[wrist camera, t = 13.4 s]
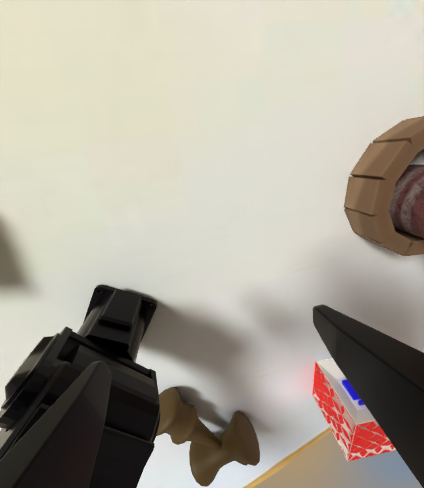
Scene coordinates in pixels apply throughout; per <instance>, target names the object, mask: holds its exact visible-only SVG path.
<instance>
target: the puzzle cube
mask: <svg viewBox="0 0 424 488" xmlns="http://www.w3.org/2000/svg"><path fill="white" fill-rule="evenodd" d="M313 397H314V399H315V400H316V402H317V404H318V406H319V408H320V410H321V412H322V414H323V415H324V417H325V419H326V421H327V423H328V425H329V427H330V429H331V430H332V432H333V434H334V436H335V438H336V440H337V442H338V444H339V445H340V447H341V449H342V451H343V453H344V455H345V457H346V459H347V461H351V460H355V459H359V458H364V457H368V456H372V455H377V454H381V453H385V452H389V451H394V450H396V449H395V447H394V446H393V444H392V443H391V441H390V440H389V439H388V437H387V436H386V434H385V433H384V431H383V430H382V429H381V427H380V426H379V424H378V423H377V421H376V420H375V419H374V417H373V416H372V414H371V413H370V411H369V410H368V409H367V407H366V406H365V404H364V403H363V401H362V400H361V399H360V397H359V396H358V394H357V393H356V391H355V390H354V389H353V387H352V386H351V384H350V383H349V381H348V380H347V379H346V377H345V376H344V374H343V373H342V371H341V370H340V369H339V367H338V366H337V364H336V363H335V361H334V359H333V358H328V359H323V360H318V361H316V362H315V374H314V386H313Z"/></svg>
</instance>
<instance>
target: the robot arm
mask: <svg viewBox="0 0 424 488" xmlns="http://www.w3.org/2000/svg"><path fill="white" fill-rule="evenodd" d="M99 289H101V290H102V291H100V290H99ZM151 305H154V306H151ZM156 307H157V302H156V301H154V300H150V299H147V298H144V297H140V296H137V295H134V294H131V293H127V292H124V291H121V290H117V289H114V288H110V287H107V286H104V285H98V286H96V288H95V289H94V292H93V295H92V298H91V301H90V304H89V307H88V310H87V313H86V317H85V320H84V323H83V325H82V326H81V328H80V330H79V331H78V333H75V332H73V331H72V329H70V328H68V327H65V328H64V329H63V330H62V332H61V333H60V334H59V333H57V334H56V335H54V336H52V337H44V338H43V339H42V340H41V341H40V342H39V343H38V345H37V346H36V347H35V348H34V350H33V351H32V352H31V353H30V355H29V356H28V357H27V358H26V360H25V361H24V362H23V363H22V365H21V366H20V367H19V369H18V370H17V371H16V373H15V374H14V375H13V377H12V378H11V379H10V381H9V382H8V384H7V385H6V386H5V393H6V400H5V401H4V403H3V405H2V406H1V408H2V409H1V411H0V428H2V429H1V431H0V488H136V487H137V484H138V482H139V479H140V477H141V474H142V472H143V469H144V467H145V465H146V463H147V461H148V459H149V457H150V455H151V453H152V451H153V449H154V443H153V442H154V440H155V437H156V434H157V431H158V427H159V423H160V402H159V395H158V387H157V379H156V372H155V371H154V370H152V369H147V368H145V367H143V366H141V365H139V364H137V363H135V361H136V358H137V354H138V350H139V346H140V343H141V340H142V338H143V336H144V334H145V332H146V329H147V327H148V325H149V323H150V321H151V319H152V316H153V314H154V312H155V310H156ZM313 323H314V326H315V328H316V329H317V331H318V333H319V335H320V336H321V338H322V340H323V342H324V344H325V345H326V347H327V349H328V351H329V352H330V354H331V356H332V358H333V359H334V361H335V363H336V364H337V366H338V367H339V369H340V370H341V371H342V373H343V374H344V376H345V377H346V379H347V380H348V381H349V383H350V384H351V386H352V387H353V389H354V390H355V391H356V393H357V394H358V396H359V397H360V399H361V400H362V401H363V403H364V404H365V406H366V407H367V409H368V410H369V411H370V413H371V414H372V416H373V417H374V419H375V420H376V421H377V423H378V424H379V426H380V427H381V429H382V430H383V431H384V433H385V434H386V436H387V437H388V439H389V440H390V441H391V443H392V444H393V446H394V447H395V449H396V450H397V451H398V453H399V454H400V455H401V457H402V459H403V460H404V461H405V463H406V464H407V466H408V467H409V468H410V470H411V471H412V473H413V474H414V476H415V477H416V479H417V480H418V481H419V483H420V484H421V486H422V487H423V488H424V353H423V352H421V351H419V350H417V349H415V348H412V347H410V346H408V345H406V344H404V343H402V342H400V341H398V340H396V339H394V338H392V337H390V336H388V335H386V334H384V333H381V332H379V331H377V330H375V329H373V328H371V327H369V326H367V325H365V324H363V323H361V322H359V321H357V320H355V319H352V318H350V317H348V316H346V315H344V314H342V313H340V312H338V311H336V310H334V309H332V308H330V307H328V306H326V305H318V306H314V307H313Z"/></svg>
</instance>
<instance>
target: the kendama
mask: <svg viewBox="0 0 424 488" xmlns="http://www.w3.org/2000/svg"><path fill="white" fill-rule="evenodd" d="M159 402H160V423H159V427H158V431H157V434H156V436H158V435H161V434H163V433H167V434H169V435H170V436H171V439H172V442H173V443H175V444H177V445H179V444H182V443H184V442H186V441H191V445H190V453H189V456H190V466H191V471H192V474H193V476H194V478H195V480H196V482H197V483H199V484H200V485H201V486H208V485H210V484H211V483H212V482H213V480H214V478H215V476H216V474H217V472H218V471H219V469H220V468H221V467H222V466H224V465H226V464H228V463H230V462H232V461H237V462H239V463H241V464H243V465H247V464H250V465H254V466H255V465H257V464H258V463H259V461H260V450H259V443H258V439H257V436H256V433H255V430H254V428H253V426H252V424H251V422H250V420H249V419H248V418H247V417H246V416H245V415H244V414H243V413H241V412H239V411H238V412H236V413H234V415H233V417H232V420H231V422H230V424H229V427H228V429H227V430H226V431H225V432H223V433H222V434H220V435H218V436H215V435H214V434H213V433H212V432H211V431H210V430H209V429H208V428H207V427H206V426H205V425H204V424H203V423H202V422H201V421H200V419H199V418H198V415H197V409H196V408H195V406H194V405H192V404H184V403H183V402H182V401H181V400H180V395H179V393H178V391H177V389H176V388H169V389H166V390H164V391H163V392H162V393H161V394H159Z"/></svg>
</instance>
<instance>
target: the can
mask: <svg viewBox="0 0 424 488" xmlns="http://www.w3.org/2000/svg"><path fill="white" fill-rule="evenodd" d="M389 213H390V216H391V219H392V222H393V226H394V228H395V229H398V230H401V231H404V232H407V233H410V234H413V235H416V236H419V237H422V238H424V165H410V166H408V167H407V168H406V169H405V171H404V172H403V173H402V175H401V176H400V178H399V179H398V180H397V182H396V185H395V189H394V193H393V197H392V200H391V204H390V208H389Z"/></svg>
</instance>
